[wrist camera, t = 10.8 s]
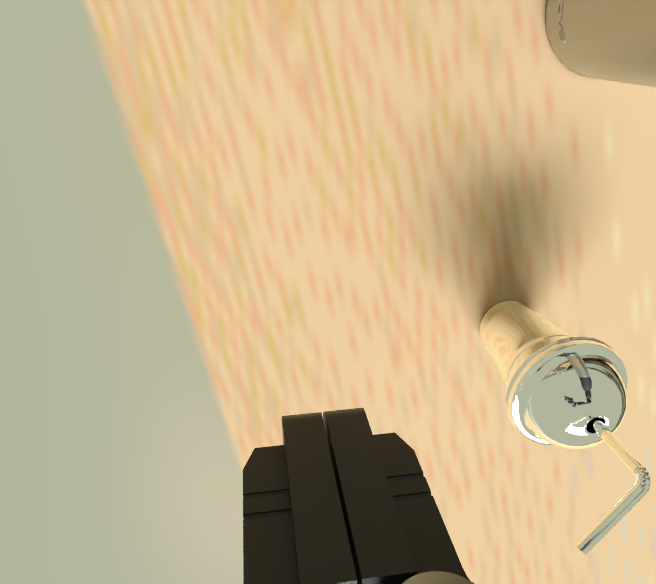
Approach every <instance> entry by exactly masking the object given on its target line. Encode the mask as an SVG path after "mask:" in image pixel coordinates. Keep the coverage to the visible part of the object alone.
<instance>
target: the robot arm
mask: <svg viewBox="0 0 656 584" xmlns="http://www.w3.org/2000/svg"><path fill="white" fill-rule="evenodd" d="M546 26H547V33H548V38H549V41H550V44H551V46H552V49H553V51H554V53H555V54H556V56H557V57H558V59H559V60H560V62H561V63H562V64H564V65H565V66H566V67H567V68H568V69H569V70H570V71H572V72H574V73H576V74H578V75H581V76H584V77H589V78H594V79H602V80H609V81H616V82H622V83H629V84H636V85H643V86H651V87H656V0H548V2H547V7H546ZM282 430H283V444H284V445H280V446H271V447H261V448H255V449H254V451H253V452H252V454H251V456H250V458H249V460H248V462H247V463H246V465H245V467H244V469H243V517H244V520H243V542H244V543H243V545H244V546H243V554H244V584H474V583H473V582H471V581H470V580H469V578H468V577H467V576H466V574H465V572H464V570H463V568H462V565H461V563H460V561H459V558H458V556H457V553H456V551H455V548H454V546H453V544H452V541H451V539H450V536H449V534H448V532H447V529H446V527H445V524H444V522H443V519H442V517H441V515H440V512H439V510H438V507H437V505H436V503H435V500H434V498H433V496H431V490H430V488H429V486H428V483H427V481H426V478H425V477H424V476H423V471H422V469H421V466H420V464H419V461H418V459H417V457H416V454H415V452H414V450H413V449H412V448H411V447H410V446H409V445H408V444H407V443H405V442H404V441H403V440H402V439H401V438H400V437H399V436H398V435H397V434H396V433H387V434H378V435H372V431H371V428H370V425H369V422H368V419H367V416H366V413H365V411H364V409H363V408H356V409H346V410H336V411H327V412H324V413H323V418H322V414H321V412H319V413H309V414H299V415H290V416H282Z"/></svg>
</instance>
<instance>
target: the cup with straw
mask: <svg viewBox="0 0 656 584" xmlns="http://www.w3.org/2000/svg"><path fill="white" fill-rule="evenodd" d="M480 335H481V338H482V340H483V341H484V343H485V346H486V348H487V350H488V352H489V353H490V355H491V357H492V359H493V361H494V363H495V365H496V367H497V369H498V371H499V373H500V374H501V376H502V378H503V380H504V382H505V386H506V389H507V392H506V398H505V404H506V412H507V415H508V418H509V420H510V422H511V423H512V425H513V426H514V427H515V428H516V429H517V430H518V431H519V432H520V433H522V434H523V435H524V436H525V437H526V438H528V439H530V440H532V441H534V442H537V443H540V444H544V445H555V446H558V447H561V448H565V449H586V448H590V447H593V446H596V445H598V444H600V443H602V442H605V443H606V444H607V445H608V446H609V447H610V448H611V450H612V451H613V452H614V453H615V454H616V455H617V456H618V457H619V459H620V460H621V461H622V462H623V463H624V464H625V465H626V466H627V468H628V469H629V470H630V471H631V472H632V473H633V475H634V476H635V478H636V483H635V485H634V486H633V487H632V488H631V489H630V490H629V491H628V492H627V493H626V494H625V495H624V496H623V497H622V498H621V499H620V500H619V501H618V502H617V503H616V504H615V505H614V506H613V507H612V508H611V509H610V510H609V511H608V512H607V513H606V514H605V515H604V516H603V517H602V518H601V519H600V520H599V521H598V522H597V523H596V524H595V525H594V526H593V527H592V528H591V529H590V530H589V531H588V532H587V533H586V534H585V535H584V536H583V538H582V539H581V540H580V541H579V542H578V543H577V544H576V545H575V546H576V547H577V548H578V549H580V550H581V551H582V552H583V553H585V554H587V553H588V552H589V551H590V550H591V549H592V548H593V547H594V546H595V545H596V544H597V543H598V542H599V541H600V540H601V539H602V538H603V537H604V536H605V535H606V534H607V533H608V532H609V531H610V530H611V529H612V528H613V527H614V526H615V525H616V524H617V523H618V522H619V521H620V520H621V519H622V518H623V517H624V516H625V515H626V514H627V513H628V512H629V511H630V510H631V509H632V508H633V507H634V506H635V505H636V504H637V503H638V502H639V501H640V500H641V499H642V498H643V497H644V496H645V495H646V494H647V492H648V490H649V488H650V483H651V482H650V476H649V473H648V472H647V470H646V468H644V467H643V466H642V464H641V463H640V462H639V461H638V460H637V459H636V458H635V457H634V456H633V455H632V454H631V453H630V451H629V450H628V449H627V448H626V447H625V446H624V445H623V444H622V443H621V442H620V441H619V440H618V439H617V437H616V436H615V435H614V433H615V432H616V431H617V429H618V428H619V427H620V425H621V423H622V421H623V419H624V416H625V413H626V409H627V394H626V389H627V373H626V368H625V366H624V364H623V362H622V360H621V359H620V358H619V356H618V354H617V353H616V352H615V350H614V349H613V348H612V347H611V346H609V345H608V344H606V343H605V342H603V341H601V340H598V339H595V338H592V337H584V336H576V337H575V336H573V335H570V334H567V333H565V332H564V331H562V330H561V329H559V328H558V327H556V326H555V325H553V324H552V323H550V322H549V321H547V320H546V319H545V318H543V317H542V316H540V315H539V314H537V313H536V312H534V311H533V310H531V309H530V308H527V307H526V306H525V305H524V304H522V303H520V302H517V301H504V302H501V303H498V304H496V305H495V306H493V307H491V308H490V309H489V310H488V311H487V312H486V314H485V315H484V316H483V318H482V320H481V323H480Z"/></svg>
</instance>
